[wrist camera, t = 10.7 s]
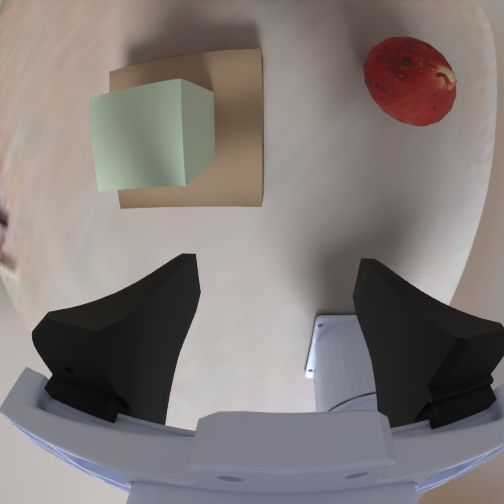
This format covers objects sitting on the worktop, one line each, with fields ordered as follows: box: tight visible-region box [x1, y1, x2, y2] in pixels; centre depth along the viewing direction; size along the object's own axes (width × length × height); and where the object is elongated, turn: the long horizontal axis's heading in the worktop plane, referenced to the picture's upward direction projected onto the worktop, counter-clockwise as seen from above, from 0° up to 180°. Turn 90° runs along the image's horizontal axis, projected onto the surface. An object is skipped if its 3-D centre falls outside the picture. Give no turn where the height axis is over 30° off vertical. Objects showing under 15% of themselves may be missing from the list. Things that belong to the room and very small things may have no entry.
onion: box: [364, 37, 457, 126], centre depth 11 cm, size 6×6×8 cm
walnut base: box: [110, 49, 264, 209], centre depth 16 cm, size 10×10×3 cm
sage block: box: [90, 79, 216, 192], centre depth 12 cm, size 4×4×6 cm
